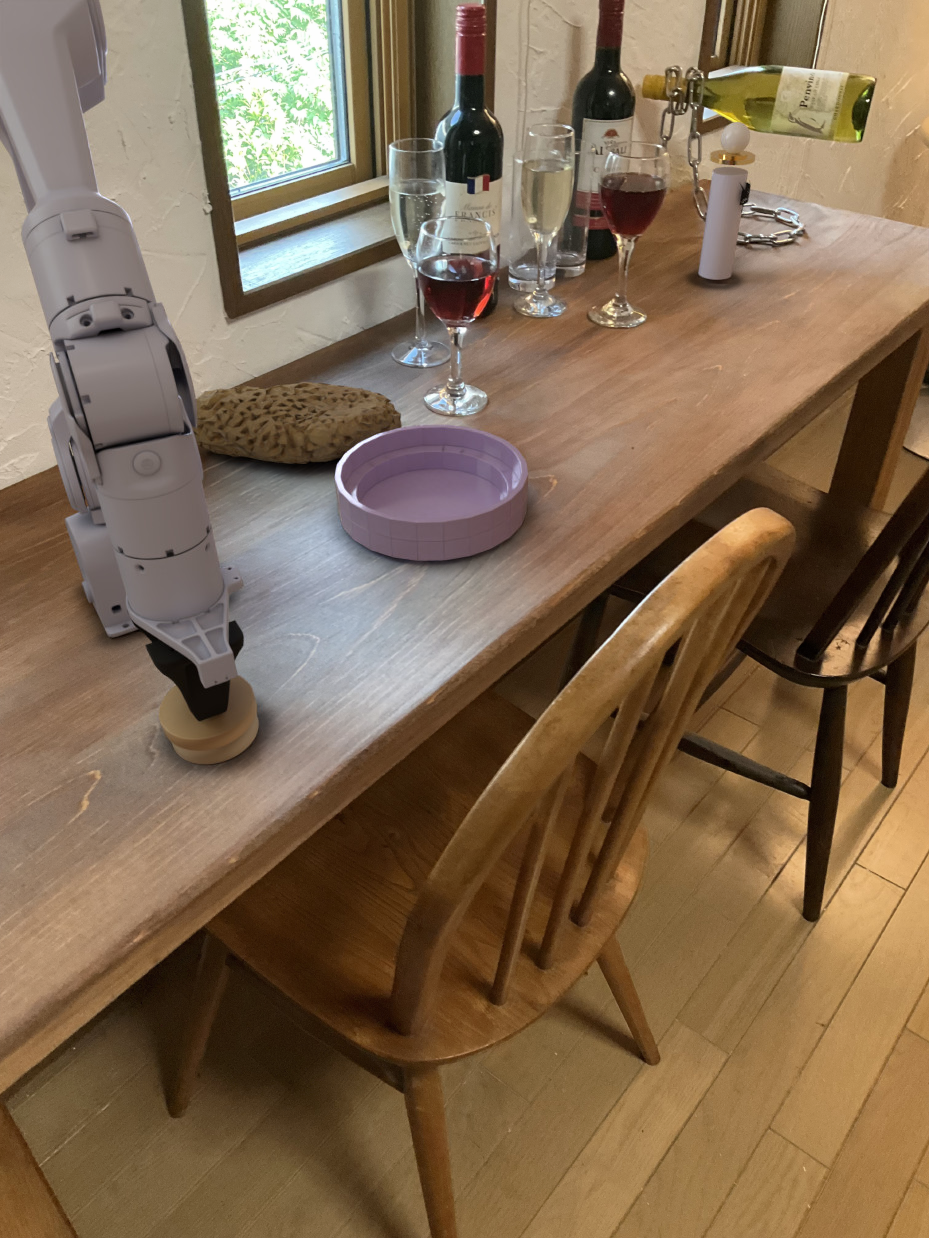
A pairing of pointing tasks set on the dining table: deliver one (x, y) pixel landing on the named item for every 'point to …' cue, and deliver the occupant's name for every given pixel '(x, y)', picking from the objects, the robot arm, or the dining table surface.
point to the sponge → (291, 421)
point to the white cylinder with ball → (725, 203)
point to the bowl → (431, 492)
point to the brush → (211, 725)
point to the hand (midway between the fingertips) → (204, 700)
